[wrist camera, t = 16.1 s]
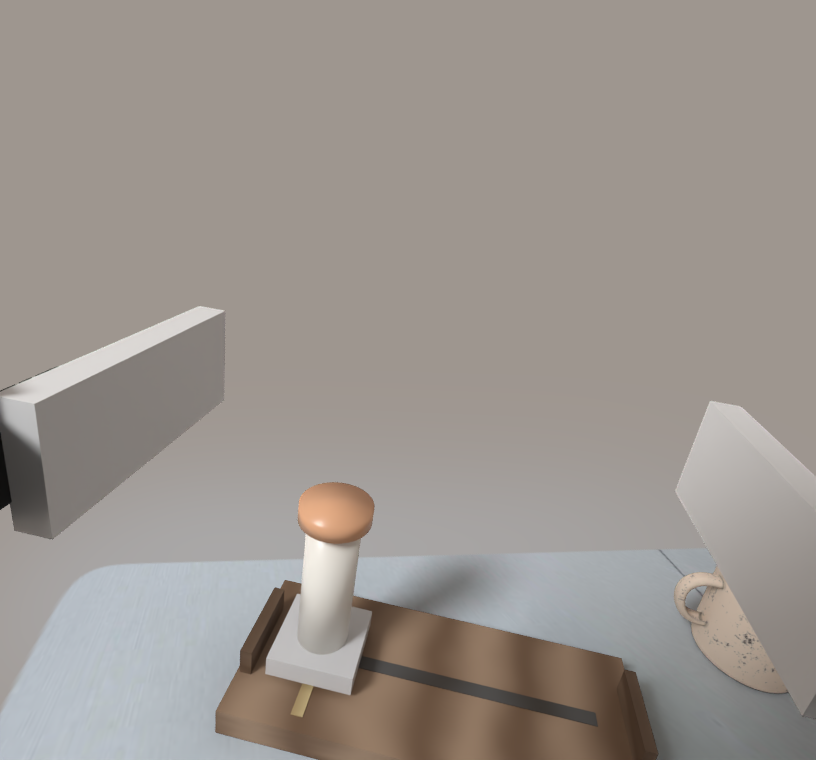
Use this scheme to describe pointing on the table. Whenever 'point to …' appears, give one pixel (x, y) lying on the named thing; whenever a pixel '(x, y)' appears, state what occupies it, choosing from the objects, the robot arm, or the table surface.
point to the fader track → (440, 695)
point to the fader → (326, 593)
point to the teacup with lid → (727, 633)
